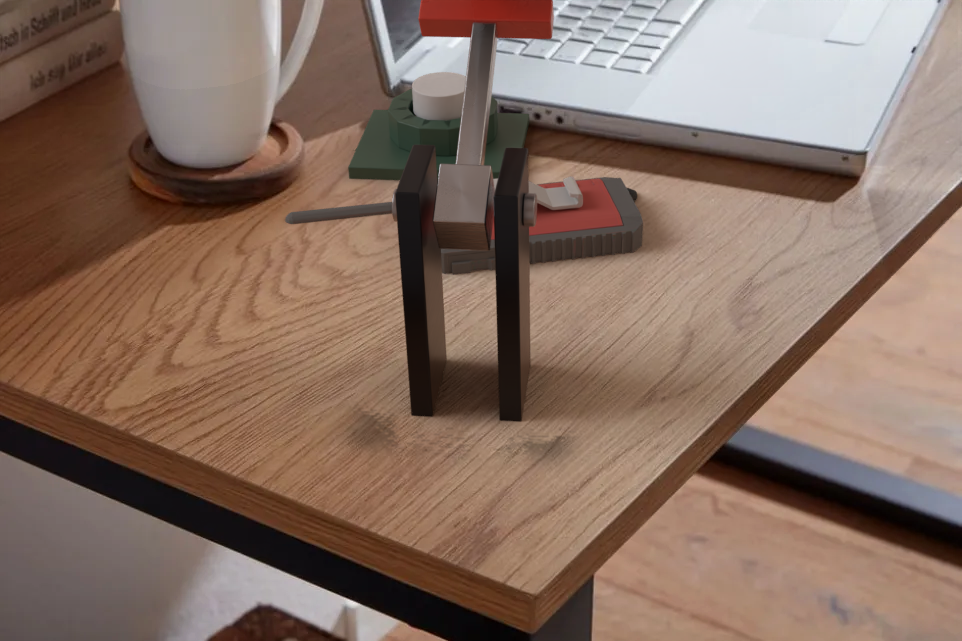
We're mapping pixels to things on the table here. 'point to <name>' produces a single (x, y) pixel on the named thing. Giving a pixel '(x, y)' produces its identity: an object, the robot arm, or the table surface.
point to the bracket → (426, 285)
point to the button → (438, 96)
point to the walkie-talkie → (541, 223)
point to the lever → (476, 108)
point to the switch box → (427, 139)
